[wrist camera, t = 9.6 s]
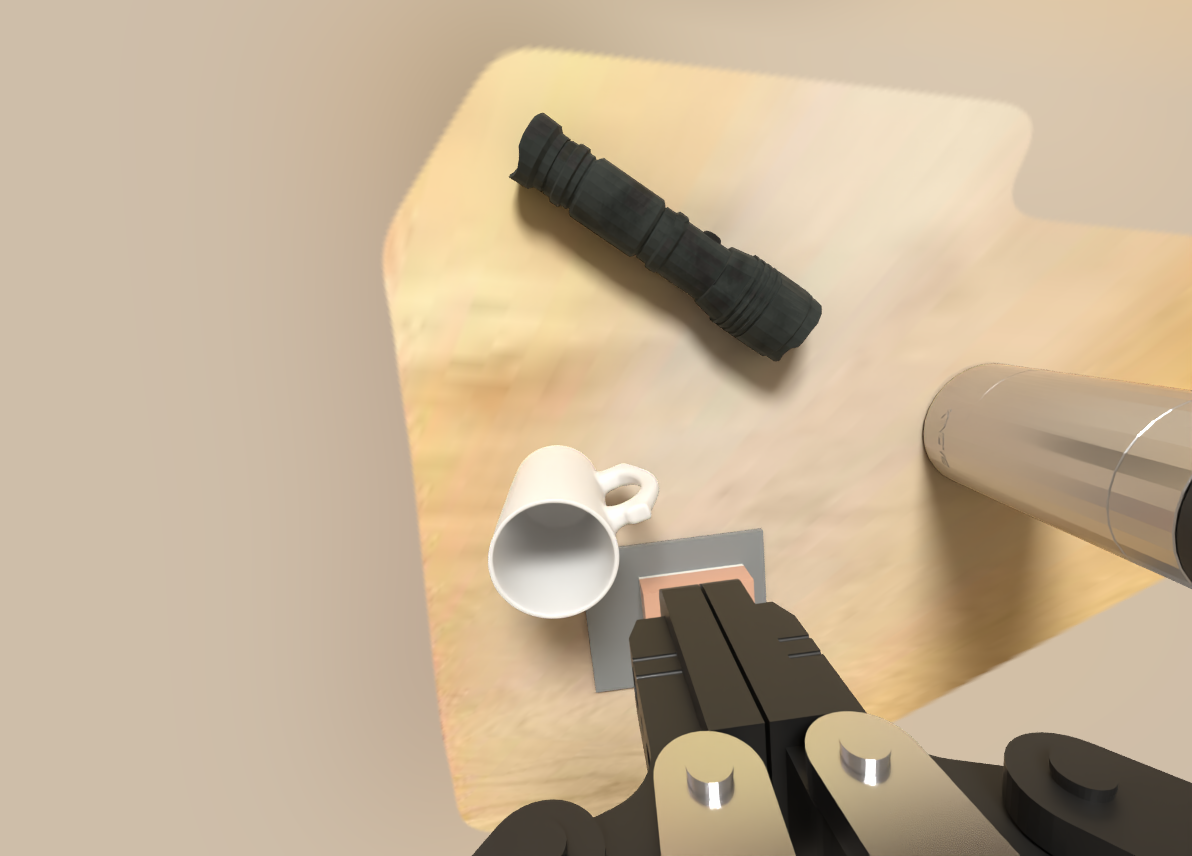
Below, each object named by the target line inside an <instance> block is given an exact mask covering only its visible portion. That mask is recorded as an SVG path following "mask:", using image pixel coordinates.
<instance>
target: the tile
mask: <svg viewBox="0 0 1192 856" xmlns="http://www.w3.org/2000/svg"><path fill="white" fill-rule="evenodd" d="M731 579H739V580H740V581H741V582H742V584H743V585H744V587H745V589H746V590H747V592H748V593H749V595H750V596H751V598H752V600H753V601H754V603H755V598H754V580H753V578H752V577H751V575H750V574H749V572H748V571H747V569H746V568H745V567H744V565H743V564H737V565H729V566H721V567H714V568H706V569H698V570H691V571H683V572H676V573H668V574H660V575H653V576H645V577H639V585H640V594H641V604H642V614H643V619H647V618H655V617H661V613H660V602H659V589H664V588H671V587H679V586H686V585H694V584H698V585H699V584H701V583H708V582H716V581H723V580H731Z"/></svg>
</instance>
